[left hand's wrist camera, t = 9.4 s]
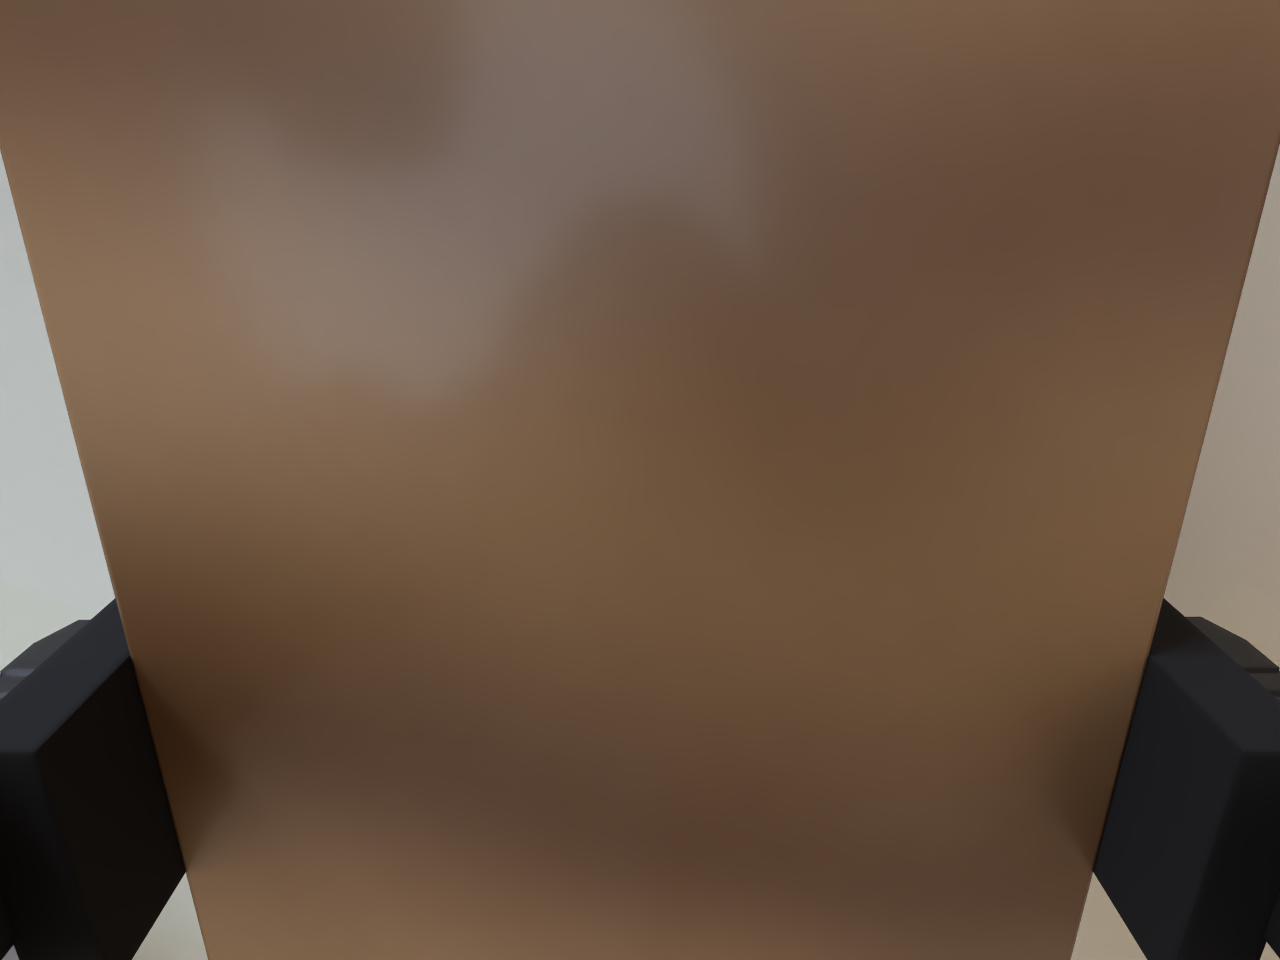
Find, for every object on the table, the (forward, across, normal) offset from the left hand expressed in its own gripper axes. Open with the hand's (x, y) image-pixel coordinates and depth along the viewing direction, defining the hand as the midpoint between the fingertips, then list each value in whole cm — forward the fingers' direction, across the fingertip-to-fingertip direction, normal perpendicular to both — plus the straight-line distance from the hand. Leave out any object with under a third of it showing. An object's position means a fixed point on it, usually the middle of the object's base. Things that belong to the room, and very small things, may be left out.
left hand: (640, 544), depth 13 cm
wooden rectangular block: (+3, 0, -6) cm, 7 cm away
